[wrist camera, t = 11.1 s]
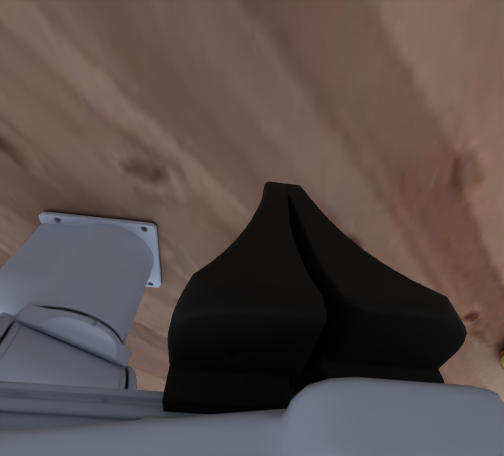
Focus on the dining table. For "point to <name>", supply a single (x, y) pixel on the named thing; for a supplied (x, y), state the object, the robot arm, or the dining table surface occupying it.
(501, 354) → the cheeseburger
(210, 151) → the dining table surface
